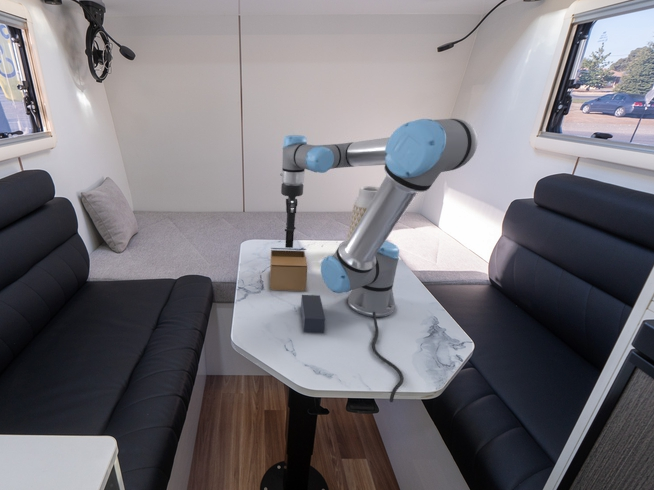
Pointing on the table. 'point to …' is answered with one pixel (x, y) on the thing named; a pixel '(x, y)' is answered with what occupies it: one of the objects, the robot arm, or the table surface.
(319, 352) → the table surface
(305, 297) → the case
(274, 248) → the flap
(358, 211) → the vase
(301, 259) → the carton
